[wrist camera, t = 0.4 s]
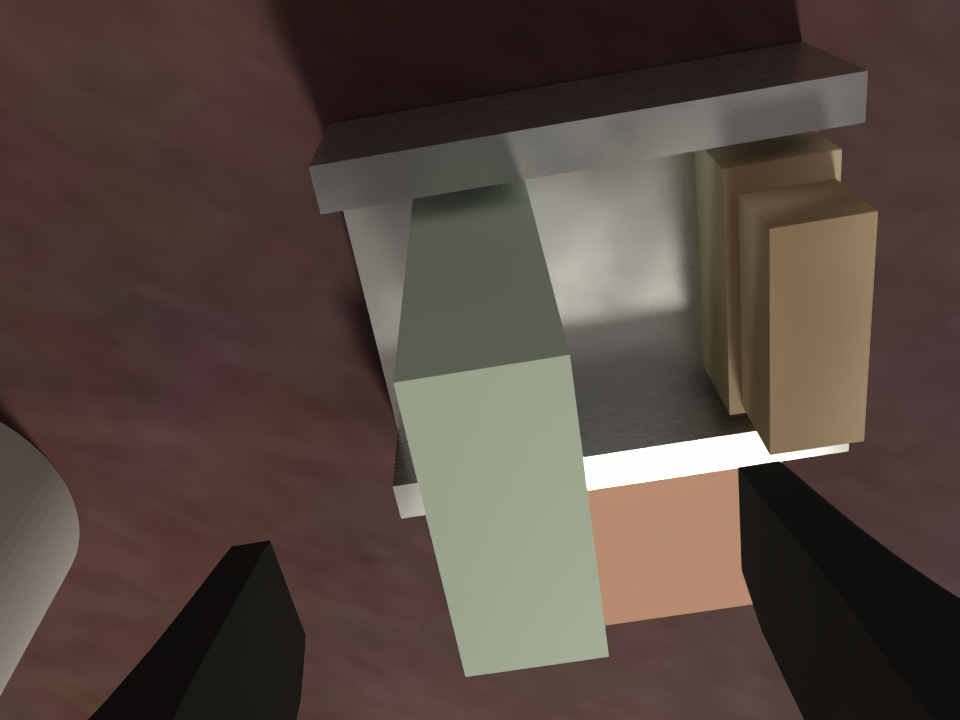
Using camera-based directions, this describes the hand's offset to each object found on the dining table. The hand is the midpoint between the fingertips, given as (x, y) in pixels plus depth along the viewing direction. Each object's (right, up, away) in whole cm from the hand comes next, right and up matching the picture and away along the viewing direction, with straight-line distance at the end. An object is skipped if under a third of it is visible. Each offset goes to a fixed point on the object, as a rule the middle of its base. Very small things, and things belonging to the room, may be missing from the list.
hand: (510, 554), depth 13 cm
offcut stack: (+6, +6, +8) cm, 11 cm away
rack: (+2, +6, +9) cm, 11 cm away
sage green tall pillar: (0, +5, +8) cm, 9 cm away
